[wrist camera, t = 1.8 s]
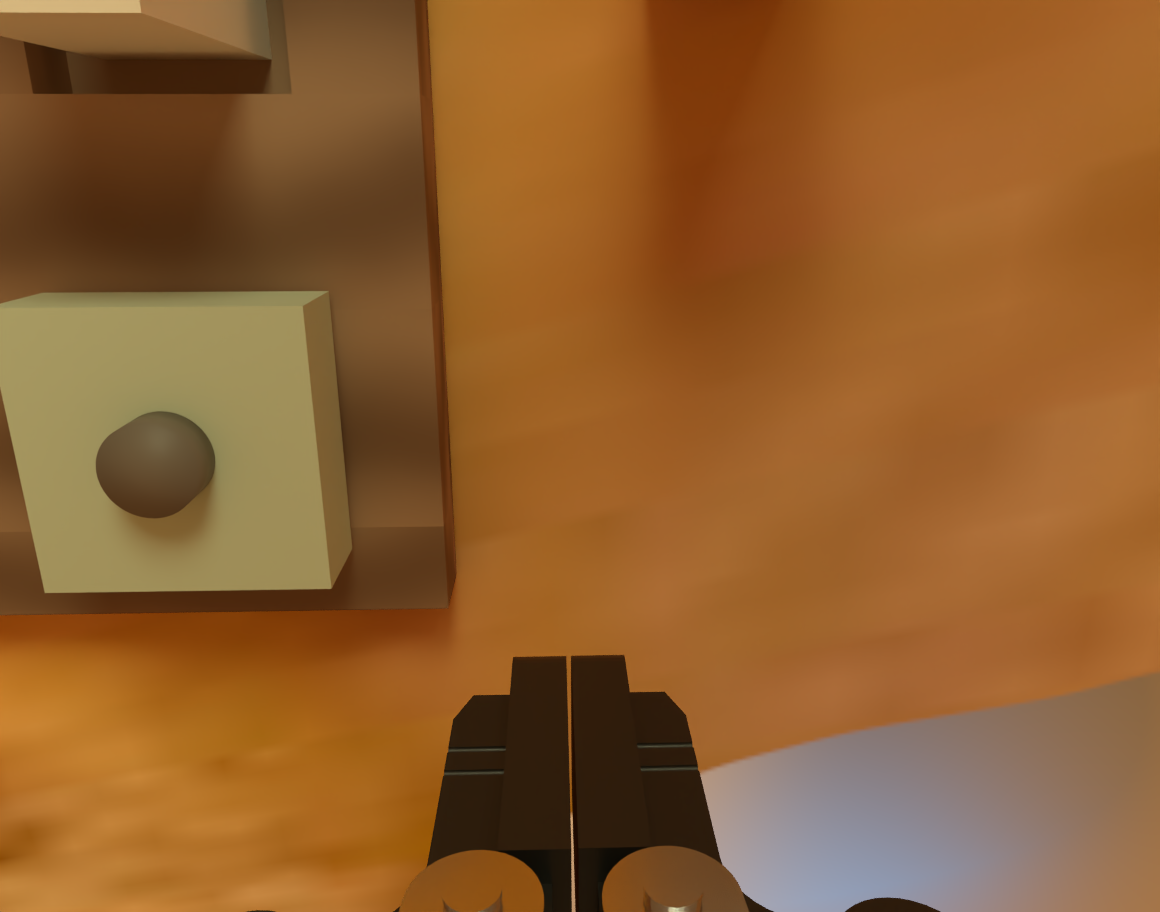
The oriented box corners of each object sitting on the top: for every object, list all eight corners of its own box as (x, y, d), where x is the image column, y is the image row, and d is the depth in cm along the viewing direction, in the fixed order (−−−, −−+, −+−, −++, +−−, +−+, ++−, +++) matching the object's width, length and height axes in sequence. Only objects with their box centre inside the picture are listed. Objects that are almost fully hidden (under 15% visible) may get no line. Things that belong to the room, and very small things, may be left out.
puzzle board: (-333, -310, 21) (-438, -366, 19) (411, -301, 22) (394, -355, 20) (-92, 581, 29) (-146, 617, 27) (456, 573, 29) (448, 608, 27)
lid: (42, 292, 24) (-50, 316, 20) (328, 291, 24) (288, 314, 20) (93, 552, 26) (18, 615, 22) (352, 548, 26) (320, 610, 23)
